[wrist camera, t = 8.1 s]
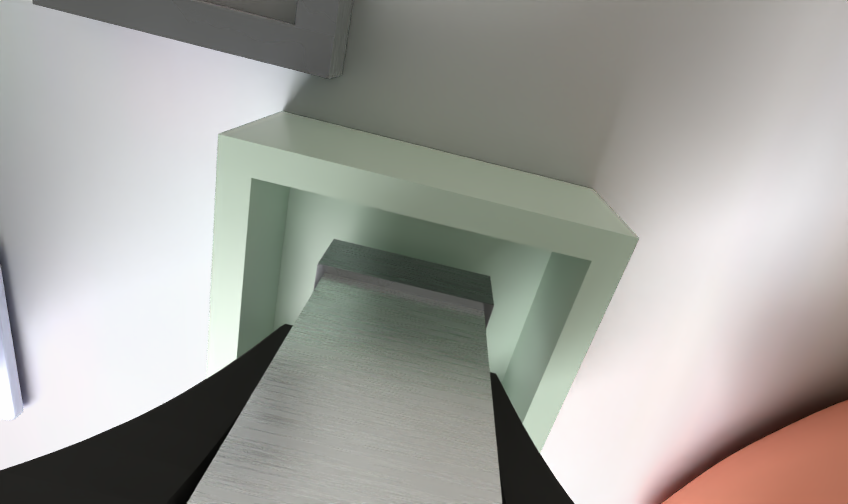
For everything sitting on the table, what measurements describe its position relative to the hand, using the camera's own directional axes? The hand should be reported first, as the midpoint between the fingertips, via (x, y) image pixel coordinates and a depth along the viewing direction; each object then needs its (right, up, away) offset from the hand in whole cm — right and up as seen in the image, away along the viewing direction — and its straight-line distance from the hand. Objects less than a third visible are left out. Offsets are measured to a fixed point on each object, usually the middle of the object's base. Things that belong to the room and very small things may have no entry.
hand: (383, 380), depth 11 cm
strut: (0, +1, +2) cm, 3 cm away
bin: (0, +2, +4) cm, 5 cm away
